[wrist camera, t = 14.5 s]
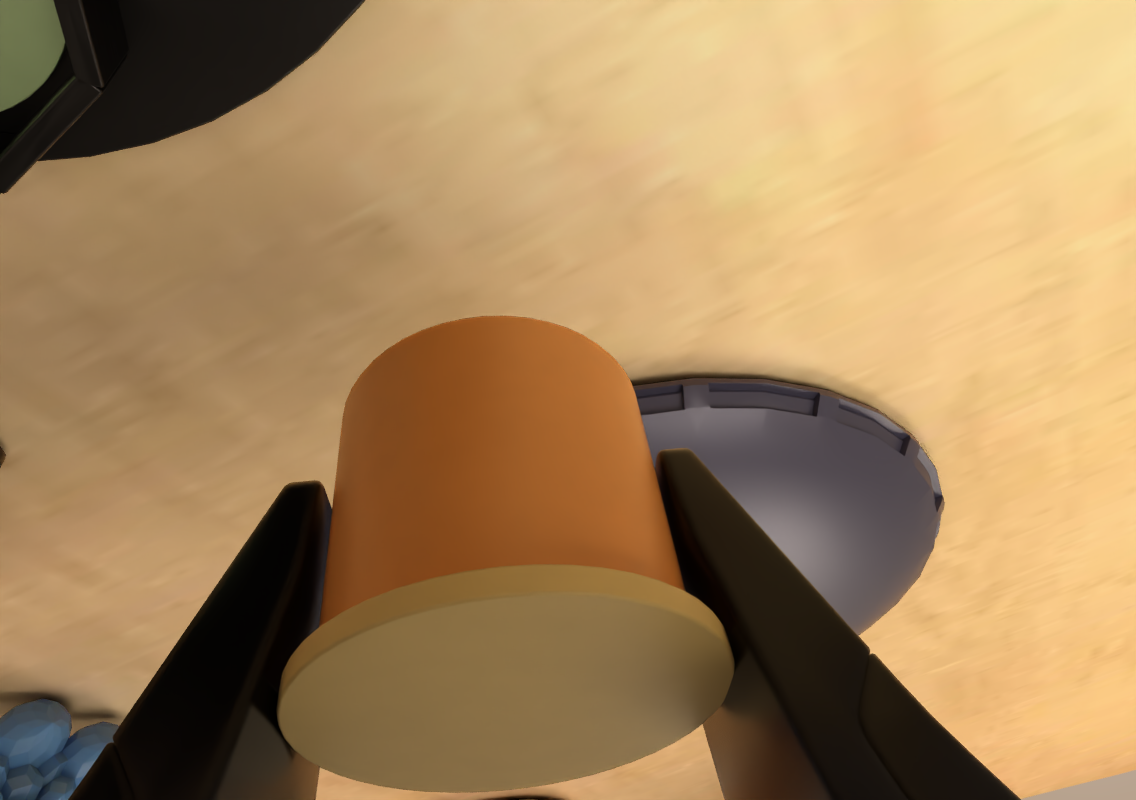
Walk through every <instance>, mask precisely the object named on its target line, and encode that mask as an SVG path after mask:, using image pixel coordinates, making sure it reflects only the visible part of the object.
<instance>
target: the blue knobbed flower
mask: <svg viewBox="0 0 1136 800" xmlns="http://www.w3.org/2000/svg"><path fill="white" fill-rule="evenodd" d="M118 728H119V726H118V725H116V724H112V723H107V722H100V723H97V724H93V725H89V726H86V727H84V728H82V729H80V730H78V731H77V732H76V733H75V734H73V735H72V736H71V737H70V738H69V736H70V733H71V729H72V723H71V715H70V713H69V712H68V711H67V710H66V708H65V707H64V706H63V705H61V704H60V703H58V702H56V701H51V700H47V699H39V700H35V701H31V702H27V703H24V704H21V705H18V706H16V707H14V708H13V709H11V710H10V711H9V712H7V713H6V714H5V715H3V716H2V717H1V718H0V800H68V799H69V797H70V796H71V795H72V793H73V792H74V791H75V789H76V788H77V786H78V785H79V784H80V782H81V781H82V779H83V778H84V777H85V775H86V774H87V772H88V771H89V769H90V768H91V767H92V765H93V764H94V762H95V761H96V759H97V758H98V756H99V755H100V753H101V752H102V750H103V749H104V747H105V746H106V745H107V744H108V743H110V742H113V743H114V741H113V735H114V734H115V732H116V731H117V729H118Z"/></svg>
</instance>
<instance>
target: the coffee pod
mask: <svg viewBox="0 0 1136 800" xmlns="http://www.w3.org/2000/svg"><path fill="white" fill-rule="evenodd" d="M734 667H735V664H734V657H733V653H732V650H731V646H730V643H729V639H728V636H727V634H726V631H725V629H724V626H723V625H722V623H721V622H720V620H719V619H718V618H717V616H716V615H715V614H714V613H713V611H712V610H710V609H709V608H708V607H707V606H706V605H705V604H703V603H702V602H701V601H700V600H699V599H697V598H695V597H694V596H692V595H690V594H689V593H687V592H686V591H685V587H684V583H683V579H682V575H681V571H680V567H679V563H678V559H677V555H676V551H675V547H674V543H673V539H672V536H671V532H670V528H669V524H668V520H667V516H666V512H665V508H664V504H663V500H662V496H661V492H660V488H659V484H658V481H657V477H656V473H655V469H654V465H653V461H652V457H651V453H650V449H649V445H648V441H647V437H646V433H645V429H644V426H643V422H642V418H641V414H640V410H639V406H638V402H637V398H636V394H635V391H634V389H633V386H632V384H631V381H630V379H629V378H628V376H627V374H626V373H625V371H624V369H623V368H622V367H621V366H620V365H619V364H618V362H617V361H616V360H615V359H614V358H613V357H612V356H611V355H610V354H609V353H608V352H606V351H605V350H604V349H603V348H602V347H600V346H599V345H598V344H597V343H595V342H593V341H592V340H590V339H588V338H587V337H585V336H584V335H582V334H579V333H577V332H575V331H573V330H570V329H568V328H566V327H563V326H560V325H556V324H553V323H550V322H547V321H542V320H536V319H531V318H526V317H514V316H481V317H473V318H464V319H459V320H455V321H450V322H446V323H441V324H438V325H435V326H433V327H430V328H427V329H424V330H421V331H419V332H417V333H415V334H413V335H410V336H408V337H406V338H404V339H402V340H401V341H399V342H398V343H396V344H394V345H393V346H391V347H390V348H388V349H387V350H385V351H384V352H383V353H382V354H381V355H379V356H378V357H377V358H376V359H375V360H373V362H372V363H371V364H370V365H369V366H368V367H367V368H366V369H365V370H364V372H363V373H362V374H361V375H360V376H359V378H358V379H357V381H356V383H355V384H354V386H353V387H352V389H351V391H350V393H349V396H348V398H347V401H346V403H345V408H344V413H343V419H342V428H341V436H340V445H339V454H338V463H337V472H336V481H335V489H334V498H333V507H332V516H331V525H330V534H329V542H328V551H327V560H326V569H325V578H324V587H323V595H322V604H321V613H320V622H319V628H318V629H316V630H315V631H314V632H313V633H312V634H311V635H309V636H308V637H307V638H306V639H305V640H304V641H303V642H302V643H301V644H300V646H299V647H298V648H297V649H296V650H295V652H294V653H293V654H292V655H291V657H290V659H289V661H288V663H287V665H286V667H285V669H284V671H283V673H282V677H281V682H280V688H279V695H278V702H277V709H276V712H277V720H278V725H279V728H280V730H281V732H282V734H283V736H284V738H285V740H286V741H287V742H288V743H289V744H290V746H291V747H292V748H293V749H294V750H295V751H296V752H298V753H299V754H300V755H301V756H303V757H304V758H305V759H307V760H308V761H310V762H312V763H314V764H315V765H317V766H319V767H321V768H323V769H325V770H328V771H330V772H333V773H335V774H337V775H340V776H343V777H346V778H350V779H353V780H356V781H360V782H364V783H369V784H373V785H378V786H383V787H390V788H396V789H403V790H413V791H424V792H447V793H460V792H489V791H503V790H512V789H522V788H529V787H536V786H542V785H548V784H554V783H559V782H564V781H569V780H573V779H577V778H581V777H585V776H590V775H593V774H597V773H600V772H604V771H607V770H610V769H614V768H616V767H619V766H622V765H625V764H628V763H631V762H633V761H636V760H638V759H641V758H643V757H645V756H648V755H650V754H653V753H655V752H657V751H659V750H661V749H663V748H665V747H667V746H669V745H671V744H673V743H675V742H676V741H678V740H679V739H681V738H683V737H684V736H686V735H688V734H689V733H691V732H692V731H693V730H695V729H696V728H698V727H699V726H700V725H702V724H703V723H704V722H705V721H706V720H707V719H708V718H710V717H711V716H712V715H713V714H714V713H715V712H716V711H717V710H718V708H719V707H720V706H721V704H722V703H723V702H724V700H725V697H726V695H727V692H728V689H729V687H730V684H731V681H732V678H733V675H734Z"/></svg>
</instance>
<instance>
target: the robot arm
mask: <svg viewBox="0 0 1136 800" xmlns="http://www.w3.org/2000/svg"><path fill="white" fill-rule="evenodd" d="M5 456H6V454H5V452H4V450H3V449H2V448H1V447H0V468H1V466H2V464H3V462H4V460H5ZM655 473H656V477H657V481H658V484H659V488H660V492H661V496H662V500H663V504H664V508H665V512H666V516H667V520H668V524H669V528H670V532H671V536H672V539H673V543H674V547H675V551H676V555H677V559H678V563H679V567H680V571H681V575H682V579H683V583H684V587H685V591H686V592H687V593H689V594H690V595H692V596H694V597H695V598H697V599H699V600H700V601H701V602H702V603H703V604H705V605H706V606H707V607H708V608H709V609H710V610H712V611H713V613H714V614H715V615H716V616H717V618H718V619H719V620H720V622H721V623H722V625H723V626H724V629H725V631H726V634H727V636H728V639H729V643H730V646H731V650H732V653H733V657H734V664H735V667H734V675H733V678H732V681H731V684H730V687H729V689H728V692H727V695H726V697H725V700H724V702H723V703H722V704H721V706H720V707H719V708H718V710H717V711H716V712H715V713H714V714H713V715H712V716H711V717H710V718H708V719H707V720H706V721H705V722H704V723H703V727H704V730H705V734H706V737H707V741H708V744H709V747H710V751H711V754H712V758H713V761H714V765H715V768H716V771H717V775H718V778H719V782H720V785H721V789H722V792H723V796H724V799H725V800H1021V799H1020V798H1019V797H1018V796H1017V795H1015V794H1014V793H1013V792H1012V791H1011V790H1010V789H1009V788H1008V787H1007V786H1006V785H1005V784H1004V783H1002V782H1001V781H1000V780H999V779H998V778H997V777H996V776H995V775H994V774H993V773H992V772H991V771H990V770H988V769H987V768H986V767H985V766H984V765H983V764H982V763H981V762H980V761H979V760H978V759H977V758H975V757H974V756H973V755H972V754H971V753H970V752H969V751H968V750H967V749H966V748H965V747H964V746H963V745H962V744H961V743H960V742H959V741H958V740H957V739H956V738H955V737H953V736H952V735H951V734H950V733H949V732H948V731H947V730H946V729H945V728H944V727H943V726H942V725H941V724H940V723H939V722H938V721H937V720H936V719H935V718H934V717H933V716H932V715H931V714H930V713H929V712H928V711H927V710H926V709H925V708H924V707H923V706H922V705H921V704H920V703H919V702H918V701H917V699H916V698H915V697H914V696H913V695H912V694H911V693H910V692H909V691H908V690H907V689H906V688H905V687H904V686H903V685H902V684H901V683H900V681H899V680H898V679H897V678H896V677H895V676H894V675H893V674H892V673H891V672H890V670H889V669H888V668H887V667H886V666H885V665H884V664H883V663H882V661H881V660H880V659H879V658H878V657H877V656H876V655H875V654H870V649H869V647H868V646H867V645H866V644H865V643H864V642H863V641H862V639H861V638H860V637H859V636H858V635H857V634H856V633H855V632H854V631H853V629H852V628H851V627H850V626H849V625H848V624H847V623H846V622H845V621H844V619H843V618H842V617H841V616H840V615H839V614H838V613H837V612H836V610H835V609H834V608H833V607H832V606H831V605H830V604H829V603H828V602H827V600H826V599H825V598H824V597H823V596H822V595H821V594H820V593H819V592H818V590H817V589H816V588H815V587H814V586H813V585H812V584H811V583H810V582H809V580H808V579H807V578H806V577H805V576H804V575H803V574H802V573H801V572H800V570H799V569H798V568H797V567H796V566H795V565H794V564H793V563H792V561H791V560H790V559H789V558H788V557H787V556H786V555H785V554H784V553H783V551H782V550H781V549H780V548H779V547H778V546H777V545H776V544H775V543H774V541H773V540H772V539H771V538H770V537H769V536H768V535H767V534H766V533H765V531H764V530H763V529H762V528H761V527H760V526H759V525H758V524H757V523H756V521H755V520H754V519H753V518H752V517H751V516H750V515H749V514H748V512H747V511H746V510H745V509H744V508H743V507H742V506H741V505H740V504H739V502H738V501H737V500H736V499H735V498H734V497H733V496H732V495H731V494H730V492H729V491H728V490H727V489H726V488H725V487H724V486H723V485H722V484H721V482H720V481H719V480H718V479H717V478H716V477H715V476H714V475H713V474H712V472H711V471H710V470H709V469H708V468H707V467H706V466H705V465H704V463H703V462H702V461H701V460H700V459H699V458H698V457H697V456H696V455H695V453H694V452H693V451H691V450H690V449H688V448H676V449H665V450H661V451H659V452H658V454H657V457H656V463H655ZM331 516H332V508H331V505H330V503H329V500H328V497H327V494H326V491H325V488H324V486H323V484H322V483H321V482H320V481H316V480H314V481H303V482H293V483H289V484H288V485H286V486H285V487H284V488H283V489H282V491H281V492H280V494H279V495H278V496H277V498H276V499H275V501H274V502H273V504H272V505H271V507H270V508H269V510H268V511H267V512H266V514H265V515H264V517H263V518H262V520H261V521H260V523H259V524H258V526H257V527H256V528H255V530H254V531H253V533H252V534H251V536H250V537H249V539H248V540H247V542H246V543H245V544H244V546H243V547H242V549H241V550H240V552H239V553H238V555H237V556H236V558H235V559H234V560H233V562H232V563H231V565H230V566H229V568H228V569H227V571H226V572H225V574H224V575H223V576H222V578H221V579H220V581H219V582H218V584H217V585H216V587H215V588H214V590H213V591H212V592H211V594H210V595H209V597H208V598H207V600H206V601H205V603H204V604H203V606H202V607H201V608H200V610H199V611H198V613H197V614H196V616H195V617H194V619H193V620H192V622H191V623H190V624H189V626H188V627H187V629H186V630H185V632H184V633H183V635H182V636H181V638H180V639H179V640H178V642H177V643H176V645H175V646H174V648H173V649H172V651H171V652H170V654H169V655H168V656H167V658H166V659H165V661H164V662H163V664H162V665H161V667H160V668H159V670H158V671H157V672H156V674H155V675H154V677H153V678H152V680H151V681H150V683H149V684H148V686H147V687H146V688H145V690H144V691H143V693H142V694H141V696H140V697H139V699H138V700H137V702H136V703H135V704H134V706H133V707H132V709H131V710H130V712H129V713H128V715H127V716H126V718H125V719H124V720H123V722H122V723H121V725H120V726H119V728H118V729H117V731H116V732H115V734H114V735H113V741H114V743H113V742H110V743H108V744H107V745H106V746H105V747H104V749H103V750H102V752H101V753H100V755H99V756H98V758H97V759H96V761H95V762H94V764H93V765H92V767H91V768H90V769H89V771H88V772H87V774H86V775H85V777H84V778H83V779H82V781H81V782H80V784H79V785H78V786H77V788H76V789H75V791H74V792H73V793H72V795H71V796H70V797H69V799H68V800H315V799H316V792H317V784H318V777H319V769H320V767H319V766H317V765H315V764H314V763H312V762H310V761H308V760H307V759H305V758H304V757H303V756H301V755H300V754H299V753H298V752H296V751H295V750H294V749H293V748H292V747H291V746H290V744H289V743H288V742H287V741H286V740H285V738H284V736H283V734H282V732H281V730H280V728H279V725H278V720H277V712H276V709H277V702H278V695H279V688H280V682H281V677H282V673H283V671H284V669H285V667H286V665H287V663H288V661H289V659H290V657H291V655H292V654H293V653H294V652H295V650H296V649H297V648H298V647H299V646H300V644H301V643H302V642H303V641H304V640H305V639H306V638H307V637H308V636H309V635H311V634H312V633H313V632H314V631H315V630H316V629H318V628H319V622H320V613H321V604H322V595H323V587H324V578H325V569H326V560H327V551H328V542H329V534H330V525H331ZM869 654H870V655H869Z"/></svg>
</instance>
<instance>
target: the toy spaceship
mask: <svg viewBox="0 0 1136 800" xmlns="http://www.w3.org/2000/svg"><path fill="white" fill-rule="evenodd" d="M633 389H634V391H635V394H636V398H637V402H638V406H639V410H640V414H641V418H642V422H643V426H644V429H645V433H646V437H647V441H648V445H649V449H650V453H651V457H652V461H653V465H654V469H655V463H656V457H657V454H658V452H659V451H661V450H665V449H676V448H688V449H690V450H691V451H693V452H694V453H695V455H696V456H697V457H698V458H699V459H700V460H701V461H702V462H703V463H704V465H705V466H706V467H707V468H708V469H709V470H710V471H711V472H712V474H713V475H714V476H715V477H716V478H717V479H718V480H719V481H720V482H721V484H722V485H723V486H724V487H725V488H726V489H727V490H728V491H729V492H730V494H731V495H732V496H733V497H734V498H735V499H736V500H737V501H738V502H739V504H740V505H741V506H742V507H743V508H744V509H745V510H746V511H747V512H748V514H749V515H750V516H751V517H752V518H753V519H754V520H755V521H756V523H757V524H758V525H759V526H760V527H761V528H762V529H763V530H764V531H765V533H766V534H767V535H768V536H769V537H770V538H771V539H772V540H773V541H774V543H775V544H776V545H777V546H778V547H779V548H780V549H781V550H782V551H783V553H784V554H785V555H786V556H787V557H788V558H789V559H790V560H791V561H792V563H793V564H794V565H795V566H796V567H797V568H798V569H799V570H800V572H801V573H802V574H803V575H804V576H805V577H806V578H807V579H808V580H809V582H810V583H811V584H812V585H813V586H814V587H815V588H816V589H817V590H818V592H819V593H820V594H821V595H822V596H823V597H824V598H825V599H826V600H827V602H828V603H829V604H830V605H831V606H832V607H833V608H834V609H835V610H836V612H837V613H838V614H839V615H840V616H841V617H842V618H843V619H844V621H845V622H846V623H847V624H848V625H849V626H850V627H851V628H852V629H853V631H854V632H855V633H856V634H857V635H860V634H861V633H863V632H864V631H865V630H867V629H868V628H869V627H871V626H872V625H873V624H874V623H875V622H876V621H877V620H879V619H880V618H881V617H882V616H883V615H884V614H886V613H887V612H888V611H889V610H890V609H891V608H893V607H894V606H895V605H896V604H897V603H898V602H899V601H900V599H901V598H902V597H903V596H904V595H905V593H906V592H907V591H908V590H909V589H910V587H911V586H912V585H913V584H914V583H915V581H916V580H917V579H918V578H919V577H920V575H921V573H922V571H923V568H924V566H925V564H926V562H927V560H928V558H929V556H930V554H931V552H932V550H933V548H934V542H935V538H936V536H937V534H938V532H939V526H940V519H941V514H942V512H943V509H944V504H945V502H944V498H943V496H942V492H941V488H940V484H939V479H938V475H937V470H936V468H935V466H934V465H933V463H932V462H931V460H930V459H929V457H928V456H927V455H926V453H925V452H924V450H923V449H922V447H921V446H920V445H919V443H918V442H917V440H916V439H915V437H914V436H913V435H912V434H910V433H909V432H908V431H906V430H905V429H903V428H902V427H901V426H899V425H898V424H897V423H895V422H894V421H892V420H891V419H890V418H888V417H887V416H886V415H884V414H883V413H881V412H880V411H879V410H877V409H875V408H872V407H869V406H867V405H864V404H862V403H859V402H857V401H854V400H852V399H849V398H846V397H844V396H841V395H839V394H836V393H834V392H831V391H829V390H824V389H818V388H813V387H807V386H801V385H796V384H790V383H784V382H779V381H773V380H768V379H722V378H691V379H683V380H675V381H668V382H660V383H652V384H644V385H637V386H633Z"/></svg>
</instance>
